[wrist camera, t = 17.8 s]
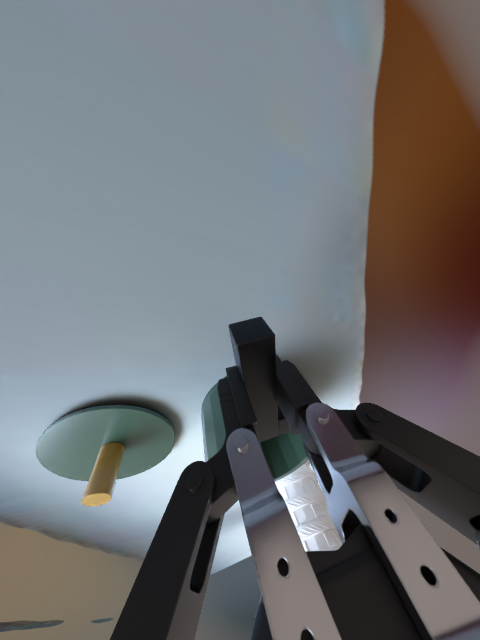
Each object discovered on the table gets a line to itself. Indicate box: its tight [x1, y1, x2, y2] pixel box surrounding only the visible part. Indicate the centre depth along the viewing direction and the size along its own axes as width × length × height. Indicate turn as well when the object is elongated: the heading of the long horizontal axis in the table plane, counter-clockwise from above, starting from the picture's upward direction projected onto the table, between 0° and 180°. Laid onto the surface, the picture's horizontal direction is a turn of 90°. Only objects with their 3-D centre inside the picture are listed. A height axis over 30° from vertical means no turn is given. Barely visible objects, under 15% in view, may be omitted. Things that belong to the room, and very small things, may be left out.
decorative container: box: [275, 460, 342, 551], centre depth 32 cm, size 12×12×18 cm
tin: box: [201, 377, 309, 481], centre depth 24 cm, size 14×14×8 cm
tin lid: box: [36, 405, 175, 506], centre depth 22 cm, size 15×15×6 cm
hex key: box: [229, 317, 291, 442], centre depth 11 cm, size 8×5×2 cm, turn 7°
